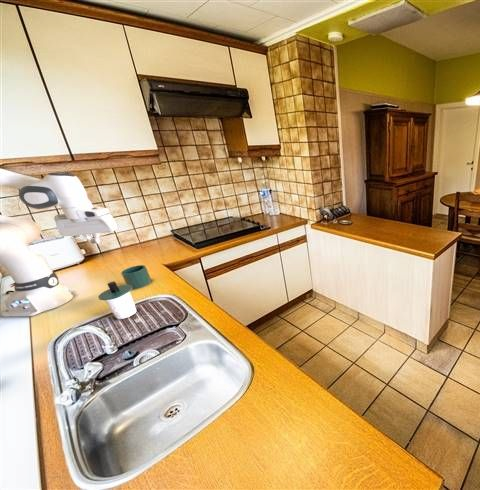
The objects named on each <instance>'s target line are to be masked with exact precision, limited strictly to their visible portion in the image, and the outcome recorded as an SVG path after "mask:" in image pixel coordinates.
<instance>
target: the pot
mask: <svg viewBox="0 0 480 490" xmlns="http://www.w3.org/2000/svg"><path fill="white" fill-rule="evenodd" d="M120 274H121V276H122V279H123V280H124V282H125V285H131V286H132V290H136V289H137V290H138V289H141V288H144V287H146V286H148V285H149V284H151V283H152V278H151V275H150V273H149V271H148V269H147V267H146V265H143V264H141V265H139V264H138V265H134V266H131V267H128V268H126V269H123V270H122V271H121V272H120Z"/></svg>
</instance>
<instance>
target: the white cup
mask: <svg viewBox="0 0 480 490" xmlns="http://www.w3.org/2000/svg"><path fill="white" fill-rule="evenodd" d="M104 302H105V304H106V305H107V307H108V308H109V310H110V312H111V313H112V314H113V315H114V317H115V319H117V320H125V319H127V318H129V317H132V316H133V315H135V314H136V313H137V307H136V304H135V302H134V299H133V296H132V294H131V291H129V292H128V293H126V294H124V295H122V296H120V297H117V298H114V299H110V300H104Z"/></svg>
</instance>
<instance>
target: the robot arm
mask: <svg viewBox="0 0 480 490" xmlns="http://www.w3.org/2000/svg"><path fill="white" fill-rule="evenodd" d="M0 187H9V188H13V189H18V198H19V200H20V201H21V202H22V203H23V204H24V205H26V206H27V207H29V208H31V209H35V210H45V209H46V210H47V209H50V208H53V207H57V206H58V207H60V209H61V210H62V212H63V213H58V214H56V215H55V216H54V217H53V220H54V222H55V226H56V229H57V231H58V234H59V235H60V236H62V237H65V238H66V237H74V236H75V237H76V236H82V237H83V239H85V240H86V241H88V243H89V244H90V245H95V244H96V245H97V244H100V243H101V240H100V238H101V234H107V233H113V232H116V231H117V230H118V224H117V222H116V220H115V218H114V217H113V216H112V214H110V210H109V208H107V207H103V206H98V205H93V203H92V202H91V200H90V199H89V198H88V193H87V190H86V188H85V187H84V185H83V183H82V182H81V180H80V179H79V178H78V176H77V175H75V174H74V173H71V172H65V171H63V172H60V171H59V172H48V173H47V174H45V176H44V177H43V178H42V177H37V176H34V175H29V174H26V173H22V172H18V171H14V170H10V169H6V168H2V167H0ZM41 234H42V227H41V225H40V224H39V223H37V222H36V221H34V220H31V219H29V218H17V217H11V216H7V215H3V214H0V265H1V266H2V268H4V269H5V271H6V272H7V273H8V275H9V276H10V277H11V279H12V280H13V283H11V284H9V285H8V286H9V287H10V288H13V287H14V290H7V291H6V292H5V295H9V294H10V293H11V294H10V295H9V296H8V297H7V298H6V300H5V301H4V305H5V307H6V309H5V310H4V311H3V312H2V313H1V317H2V318H3V317H6V318H7V317H10V318H12V317H33V316H37V315H38V314H42V313H44V312H47V311H50V310H53V309H56V308H58V307H60V306H63V305H65V304H67V303H68V302H69V301H71V300H72V299H73V298H74V295H73V294H72V292H71V290H69V289H68V287H67V286H65V285H64V283H63V282H62V281H61V280H60V279H59V276H58V275H57V273H56V272H55V271H54V270H52V268H51V266H50V264H49V263H48V261H47V260H46V258H45V256H43V255H41V254H37V253H35V252H34V251H33V250H31V248H29V247H28V245H30V244H31V243H33V242H34V241H36V240H37V239H38V238H39V237H40V236H41ZM91 235H92V236H91ZM93 237H94V238H93Z"/></svg>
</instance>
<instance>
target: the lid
mask: <svg viewBox="0 0 480 490" xmlns="http://www.w3.org/2000/svg"><path fill="white" fill-rule="evenodd" d="M106 285H107V286H108V289H106V290H104V291H102V292H101V293H100V294H99V295H98V297H97V298H98V300H100V301H105V300H110V299H114V298H117V297H120V296H122V295H124V294H126V293H128V292H131V291H132V290H133V289H132V286H131V285H126V284H121V285H117V283H116V281H109V282H108V283H107V284H106Z"/></svg>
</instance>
